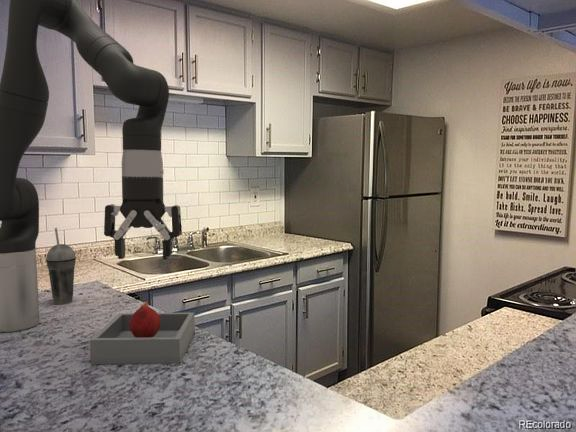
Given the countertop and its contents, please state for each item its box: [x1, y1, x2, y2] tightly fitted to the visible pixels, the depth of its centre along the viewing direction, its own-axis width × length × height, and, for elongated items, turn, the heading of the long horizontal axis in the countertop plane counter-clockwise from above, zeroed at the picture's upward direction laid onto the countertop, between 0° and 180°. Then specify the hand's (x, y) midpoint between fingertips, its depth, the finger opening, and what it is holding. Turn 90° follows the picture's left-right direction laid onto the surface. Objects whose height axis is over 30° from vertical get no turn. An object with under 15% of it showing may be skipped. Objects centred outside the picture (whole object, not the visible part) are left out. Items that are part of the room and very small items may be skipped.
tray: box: [89, 312, 196, 365], centre depth 92 cm, size 16×16×4 cm
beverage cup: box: [45, 227, 77, 306], centre depth 124 cm, size 7×7×20 cm
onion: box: [129, 301, 161, 338], centre depth 92 cm, size 6×6×8 cm
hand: (143, 258), depth 91 cm, fingers open, 8 cm apart
